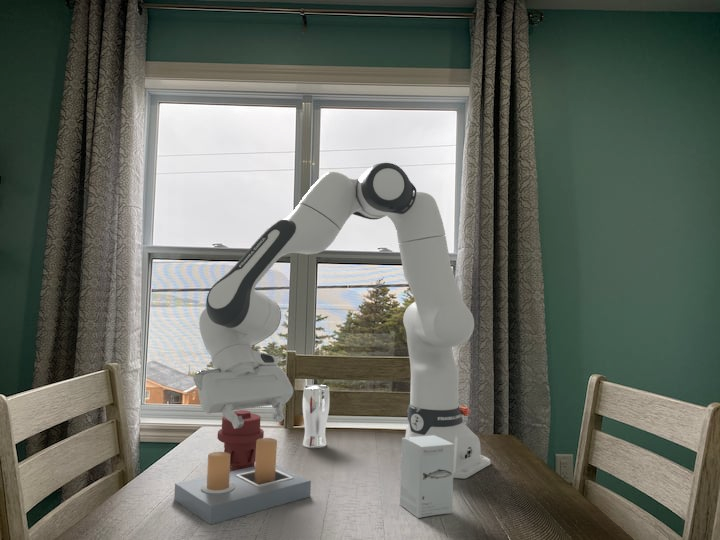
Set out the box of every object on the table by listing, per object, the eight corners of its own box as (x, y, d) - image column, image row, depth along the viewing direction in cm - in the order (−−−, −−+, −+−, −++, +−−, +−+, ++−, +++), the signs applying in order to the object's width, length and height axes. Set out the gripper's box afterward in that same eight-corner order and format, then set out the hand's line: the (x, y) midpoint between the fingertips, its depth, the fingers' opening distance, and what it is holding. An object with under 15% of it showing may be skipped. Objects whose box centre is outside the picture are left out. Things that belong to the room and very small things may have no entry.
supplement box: (418, 519, 97) (420, 446, 97) (398, 504, 103) (400, 436, 104) (453, 514, 99) (455, 443, 100) (432, 499, 106) (434, 433, 107)
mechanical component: (268, 463, 125) (251, 477, 115) (228, 459, 127) (207, 473, 117) (271, 409, 126) (254, 418, 116) (230, 406, 128) (210, 414, 118)
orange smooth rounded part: (267, 482, 110) (269, 436, 110) (278, 488, 107) (281, 441, 107) (249, 486, 107) (252, 440, 107) (261, 492, 104) (263, 445, 104)
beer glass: (326, 449, 138) (329, 389, 139) (299, 448, 138) (301, 388, 139) (328, 442, 145) (330, 385, 146) (302, 441, 145) (304, 384, 146)
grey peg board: (269, 477, 116) (271, 434, 116) (310, 496, 106) (312, 449, 106) (174, 499, 102) (176, 450, 102) (210, 524, 92) (212, 469, 92)
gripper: (196, 361, 108) (219, 420, 100) (282, 356, 122) (307, 407, 114) (185, 381, 111) (206, 440, 104) (270, 373, 125) (294, 425, 117)
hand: (260, 423), depth 109 cm, fingers open, 8 cm apart
